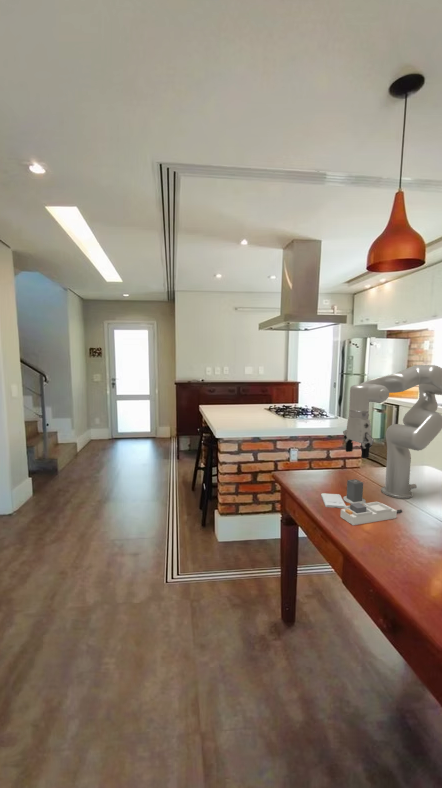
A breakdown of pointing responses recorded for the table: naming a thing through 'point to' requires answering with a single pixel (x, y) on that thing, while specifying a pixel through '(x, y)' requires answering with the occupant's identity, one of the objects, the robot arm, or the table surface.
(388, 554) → the table surface
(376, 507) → the power strip
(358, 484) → the charger
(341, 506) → the external hard drive
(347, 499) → the coaster
